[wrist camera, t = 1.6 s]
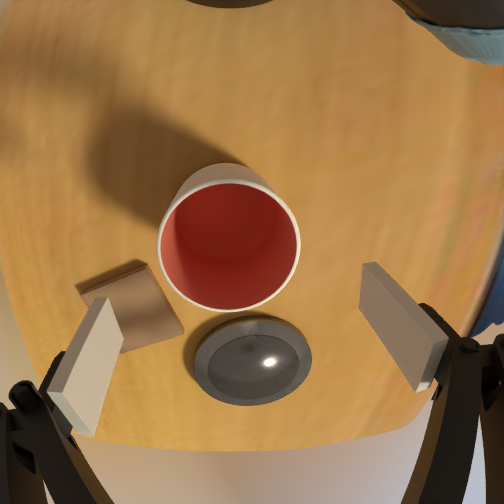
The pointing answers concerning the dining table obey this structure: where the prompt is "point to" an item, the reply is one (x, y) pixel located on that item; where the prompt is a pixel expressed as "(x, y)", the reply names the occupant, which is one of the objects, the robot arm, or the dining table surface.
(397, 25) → the dining table surface
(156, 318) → the oak coaster
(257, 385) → the grey plate
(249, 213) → the cup
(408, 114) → the dining table surface
